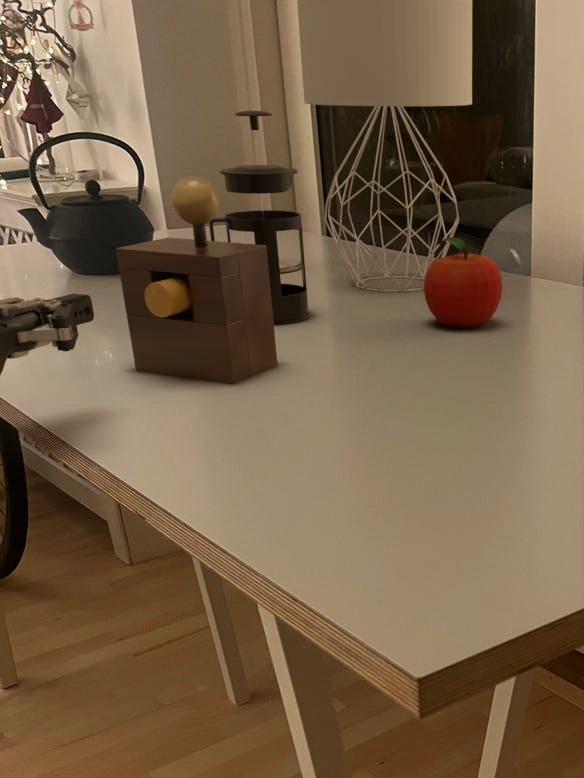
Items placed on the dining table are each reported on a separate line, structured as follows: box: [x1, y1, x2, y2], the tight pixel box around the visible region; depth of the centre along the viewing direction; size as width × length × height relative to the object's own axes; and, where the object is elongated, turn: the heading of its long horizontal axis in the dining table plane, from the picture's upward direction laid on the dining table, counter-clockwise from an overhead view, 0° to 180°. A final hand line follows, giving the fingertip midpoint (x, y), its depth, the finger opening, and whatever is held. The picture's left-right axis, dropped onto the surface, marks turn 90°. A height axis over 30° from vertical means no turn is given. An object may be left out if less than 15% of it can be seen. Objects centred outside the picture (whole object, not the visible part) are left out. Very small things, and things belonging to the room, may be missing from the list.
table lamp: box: [296, 0, 473, 292], centre depth 134 cm, size 22×22×40 cm
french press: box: [208, 110, 311, 326], centre depth 118 cm, size 12×9×23 cm
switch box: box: [115, 175, 278, 385], centre depth 98 cm, size 8×12×18 cm, turn 67°
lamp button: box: [145, 278, 191, 318], centre depth 95 cm, size 3×3×3 cm
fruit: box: [423, 236, 503, 329], centre depth 119 cm, size 10×10×10 cm
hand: (85, 306), depth 86 cm, fingers closed
